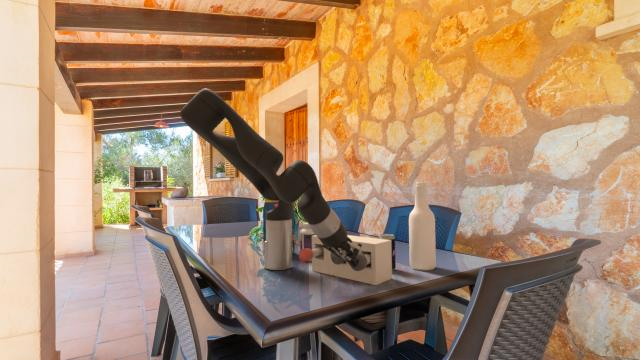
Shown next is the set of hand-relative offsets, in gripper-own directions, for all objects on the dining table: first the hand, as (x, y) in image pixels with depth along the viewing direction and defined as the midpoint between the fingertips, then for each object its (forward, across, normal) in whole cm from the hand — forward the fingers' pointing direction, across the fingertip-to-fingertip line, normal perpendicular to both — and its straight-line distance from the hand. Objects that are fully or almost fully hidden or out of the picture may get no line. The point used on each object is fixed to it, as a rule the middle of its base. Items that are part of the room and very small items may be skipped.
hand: (355, 264), depth 99 cm
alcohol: (+28, +4, +19) cm, 34 cm away
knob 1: (+7, -10, +4) cm, 12 cm away
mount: (+12, -10, +2) cm, 15 cm away
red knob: (+3, -19, +1) cm, 19 cm away
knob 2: (+5, 0, +2) cm, 5 cm away
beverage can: (+21, -3, +12) cm, 24 cm away
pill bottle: (+17, -35, +7) cm, 40 cm away
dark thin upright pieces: (+16, -53, +6) cm, 56 cm away
